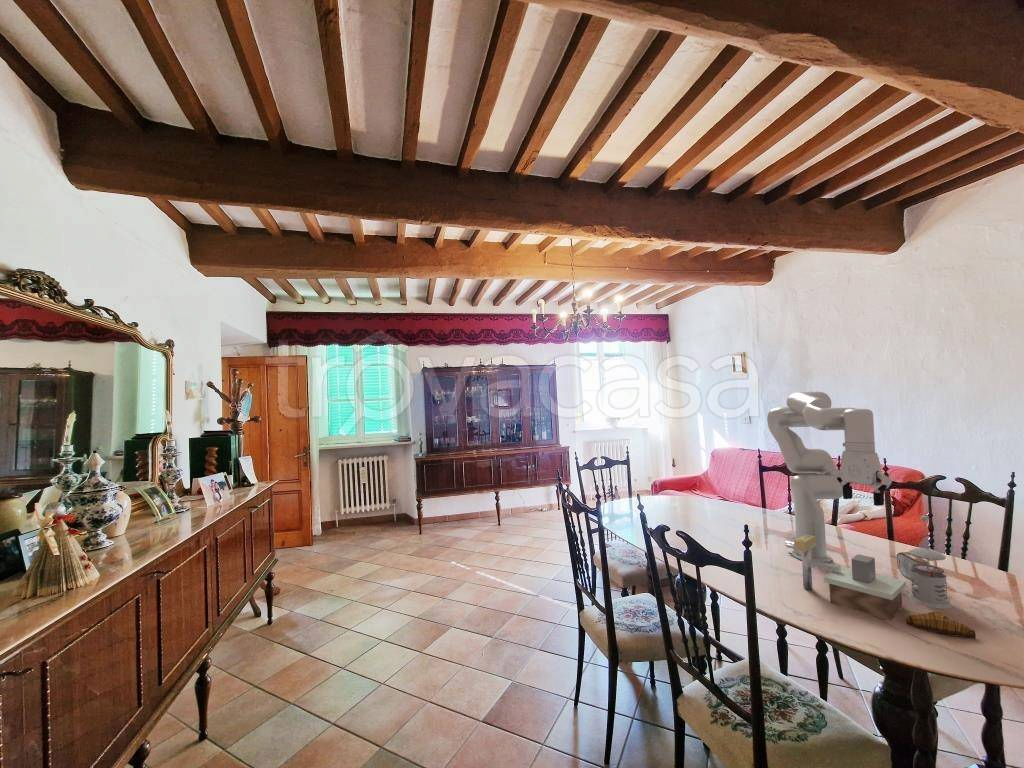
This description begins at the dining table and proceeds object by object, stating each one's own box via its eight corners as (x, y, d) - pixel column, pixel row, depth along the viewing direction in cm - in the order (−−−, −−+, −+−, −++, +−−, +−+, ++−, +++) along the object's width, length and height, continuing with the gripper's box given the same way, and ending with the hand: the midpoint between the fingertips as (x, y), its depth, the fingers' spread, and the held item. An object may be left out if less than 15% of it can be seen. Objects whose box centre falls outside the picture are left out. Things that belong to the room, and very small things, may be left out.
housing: (830, 602, 133) (829, 582, 133) (844, 591, 140) (843, 572, 140) (890, 620, 121) (889, 597, 122) (902, 607, 129) (900, 586, 129)
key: (796, 590, 141) (794, 540, 142) (808, 582, 147) (805, 534, 147) (836, 601, 133) (833, 548, 133) (846, 592, 138) (843, 541, 139)
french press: (903, 600, 133) (898, 515, 134) (913, 589, 140) (908, 509, 141) (949, 611, 125) (943, 522, 126) (957, 599, 132) (951, 515, 133)
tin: (938, 591, 138) (936, 564, 139) (926, 591, 139) (924, 563, 139) (905, 573, 153) (904, 548, 153) (895, 572, 154) (893, 548, 154)
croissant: (906, 630, 117) (905, 610, 117) (903, 619, 122) (902, 601, 122) (980, 645, 109) (978, 624, 109) (972, 633, 114) (971, 613, 114)
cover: (824, 582, 133) (822, 556, 133) (840, 570, 142) (839, 546, 142) (892, 600, 120) (890, 572, 121) (906, 586, 129) (904, 560, 129)
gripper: (825, 445, 149) (828, 497, 148) (879, 451, 132) (882, 509, 131) (842, 444, 151) (845, 495, 150) (898, 449, 134) (901, 507, 133)
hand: (862, 501), depth 141 cm, fingers open, 9 cm apart
